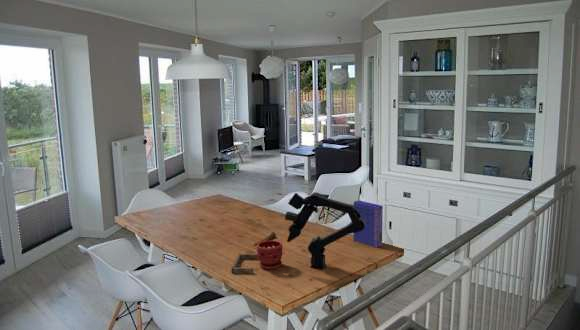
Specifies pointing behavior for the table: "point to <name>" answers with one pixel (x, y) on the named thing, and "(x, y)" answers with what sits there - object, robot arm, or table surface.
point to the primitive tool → (266, 238)
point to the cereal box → (370, 224)
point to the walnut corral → (243, 270)
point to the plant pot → (270, 254)
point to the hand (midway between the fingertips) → (289, 238)
